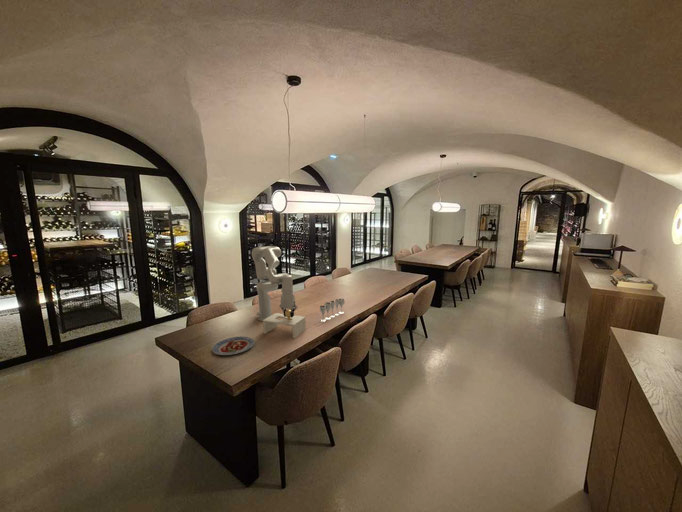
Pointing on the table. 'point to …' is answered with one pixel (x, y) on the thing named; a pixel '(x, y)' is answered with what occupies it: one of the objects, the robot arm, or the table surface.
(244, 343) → the ceramic plate
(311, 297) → the table surface
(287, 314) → the brass capped stopper
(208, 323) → the table surface
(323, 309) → the goblet set
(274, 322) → the keyhole shelf
